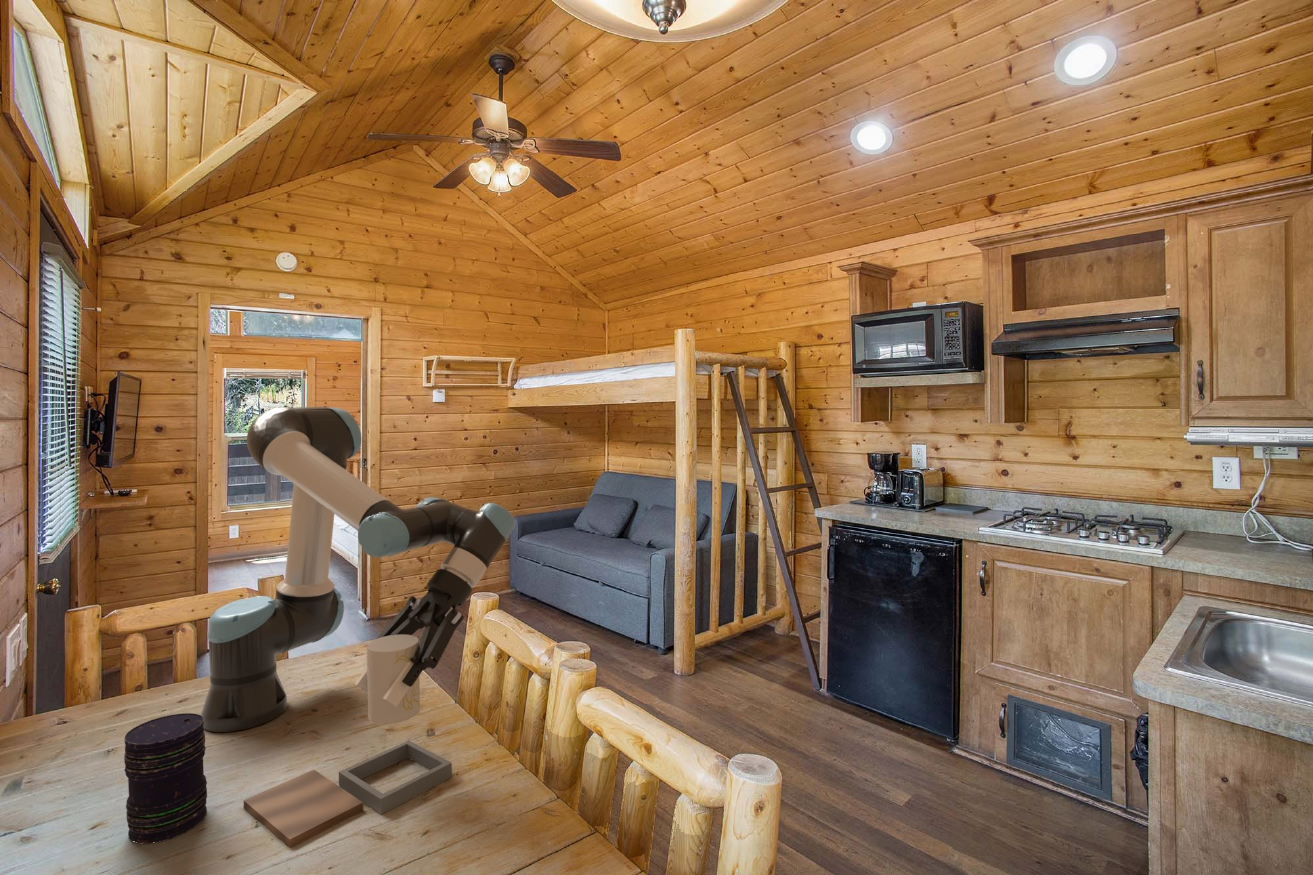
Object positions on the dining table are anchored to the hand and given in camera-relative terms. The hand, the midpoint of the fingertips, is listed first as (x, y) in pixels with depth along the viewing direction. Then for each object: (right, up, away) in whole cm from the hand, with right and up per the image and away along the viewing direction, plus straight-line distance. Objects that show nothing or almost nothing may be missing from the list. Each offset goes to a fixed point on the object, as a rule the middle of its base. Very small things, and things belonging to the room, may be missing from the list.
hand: (375, 695), depth 107 cm
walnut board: (-10, -16, -4) cm, 19 cm away
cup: (+2, -4, +3) cm, 6 cm away
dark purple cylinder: (-28, -17, -8) cm, 34 cm away
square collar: (+2, -16, +3) cm, 16 cm away
